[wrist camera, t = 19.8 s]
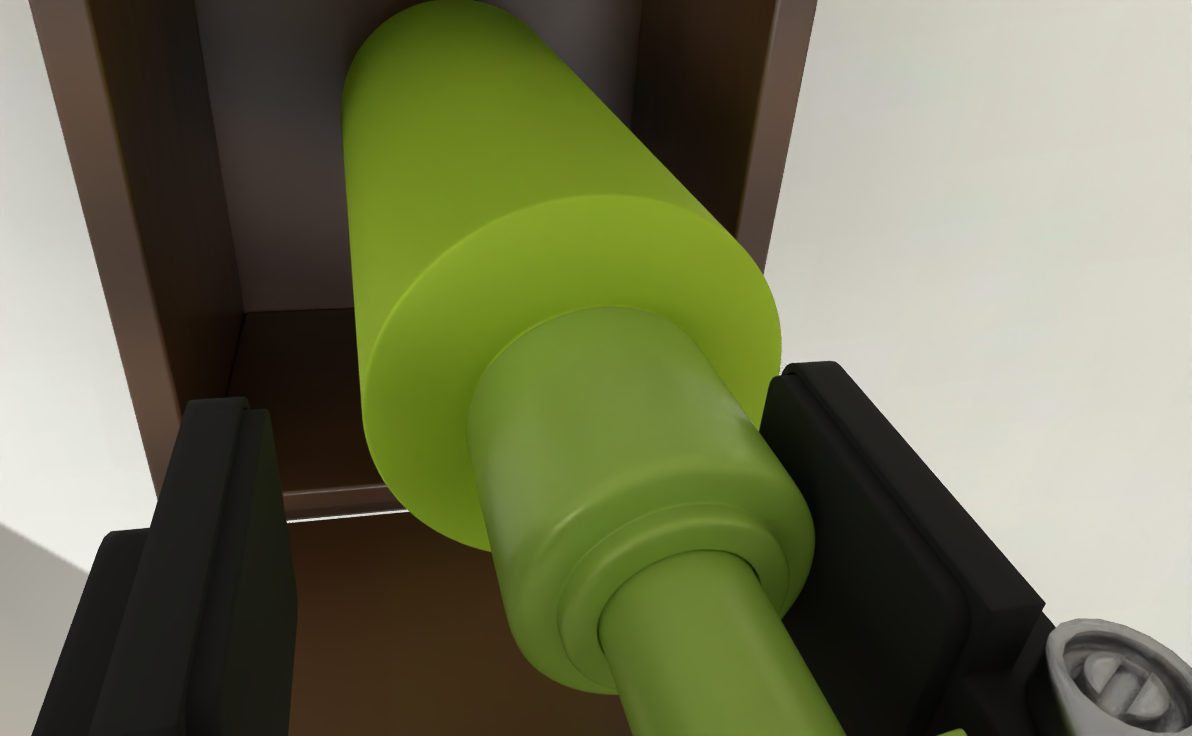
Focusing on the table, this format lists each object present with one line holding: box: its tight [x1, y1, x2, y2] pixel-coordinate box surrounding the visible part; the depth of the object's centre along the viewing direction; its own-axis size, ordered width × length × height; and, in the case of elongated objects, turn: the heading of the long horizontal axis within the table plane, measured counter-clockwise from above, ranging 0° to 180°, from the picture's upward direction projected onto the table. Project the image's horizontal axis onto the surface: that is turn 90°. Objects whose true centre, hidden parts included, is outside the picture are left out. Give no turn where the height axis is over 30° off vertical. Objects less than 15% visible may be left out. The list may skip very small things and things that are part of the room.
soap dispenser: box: [341, 0, 968, 736], centre depth 14 cm, size 6×7×20 cm
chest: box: [28, 0, 817, 521], centre depth 21 cm, size 16×14×10 cm
